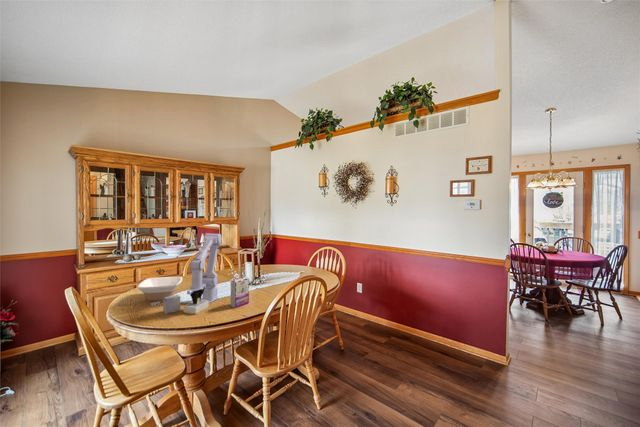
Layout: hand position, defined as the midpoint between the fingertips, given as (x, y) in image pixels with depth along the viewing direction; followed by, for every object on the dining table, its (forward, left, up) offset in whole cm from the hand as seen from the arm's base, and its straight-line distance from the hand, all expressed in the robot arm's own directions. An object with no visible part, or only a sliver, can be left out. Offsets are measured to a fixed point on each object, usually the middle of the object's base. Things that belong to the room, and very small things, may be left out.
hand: (196, 302), depth 164 cm
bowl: (-12, -36, -5) cm, 38 cm away
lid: (0, 0, -1) cm, 1 cm away
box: (0, 0, -4) cm, 4 cm away
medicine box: (+6, -12, -5) cm, 14 cm away
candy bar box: (-15, +20, -5) cm, 25 cm away
